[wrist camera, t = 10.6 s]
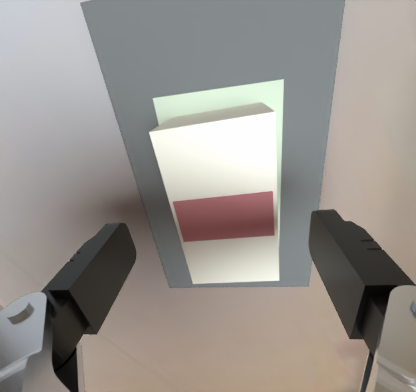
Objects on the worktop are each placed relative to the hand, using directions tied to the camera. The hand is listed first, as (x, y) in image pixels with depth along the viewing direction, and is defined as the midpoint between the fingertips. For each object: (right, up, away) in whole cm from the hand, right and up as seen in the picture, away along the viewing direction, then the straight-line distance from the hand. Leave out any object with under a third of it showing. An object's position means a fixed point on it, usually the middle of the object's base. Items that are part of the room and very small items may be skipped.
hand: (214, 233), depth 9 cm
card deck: (+1, +3, +5) cm, 5 cm away
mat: (+1, +3, +5) cm, 6 cm away
